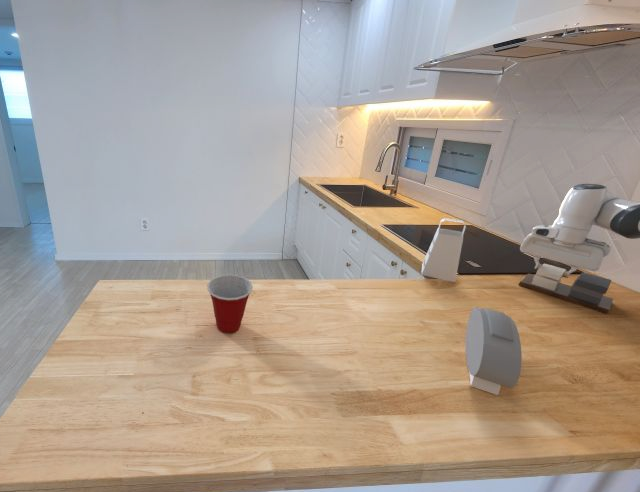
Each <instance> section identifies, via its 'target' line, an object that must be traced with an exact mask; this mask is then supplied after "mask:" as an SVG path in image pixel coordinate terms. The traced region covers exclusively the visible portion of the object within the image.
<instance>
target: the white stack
mask: <svg viewBox="0 0 640 492" xmlns="http://www.w3.org/2000/svg"><path fill="white" fill-rule="evenodd" d="M534 275H535V276H534V278H533V282H532V284H534V285H537V286H540V287H543V288H546V289H549V290H553V291H555V289H556V288H557V287H558V285H559V284H560V283H562V278H561V279H560V280H555V279H552V278H549V277H545V276H542V275H538V274H536V273H535V274H534Z"/></svg>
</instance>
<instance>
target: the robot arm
mask: <svg viewBox="0 0 640 492" xmlns="http://www.w3.org/2000/svg"><path fill="white" fill-rule="evenodd" d="M592 226H596V227H599V228H602V229H604V230H607V231H610V232H613V233H615V234H616V235H618V236H621V237H623V238H626V239H629V240H631V239H633V240H635V239H640V201H633V200H629V199H625V198H622V197H619V196H617V195H615V194H613V193H612V192H611V191H610V190H608V188H607V186H606V185H603V184H599V183H598V184H597V183H581V184H576V185H574V186H572V187H571V188H570V189H569V190H568V192H567V193H566V195H565V196H564V199H563V200H562V202H561V204H560V207H559V212H558V216H557V217H556V218H555V220H554V221H553V224H541V225H536V226H534V227H533V228H532V230H531V233H529V234H528V235H527V236H526V237H524V239H523V241H522V243H521V245H520V246H519V251H520V252H521V253H523V254H527V255H530V256H534V257H533V260H534V263H535V265H534V269H535V270H538V269H539V268H540V267H541V266H542V265H543V264H542V263H540V259H541V258H543V259H546V260H550V261H554V262H558V263H561V264H564V265H569V266H571V267H570V270H566V271H564V273H563V275H562V278H566V279H569V277H570V274H572V273H575V272H576V271H577V270H578V269H579V268H580V269H584V270H587V271H590V272H591V271H592V272H596V271H599V270H600V268H601V266H602V263H603V260H604V258H605V257H607V256H608V255H609V254H610V252H611V246H610V245H609V244H608V243H607V242H605V241H599V240H595V239H592V238H588V236H589V234H590V233H591V229H592Z"/></svg>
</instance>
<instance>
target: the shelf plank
mask: <svg viewBox="0 0 640 492" xmlns="http://www.w3.org/2000/svg"><path fill="white" fill-rule="evenodd" d="M535 275H536V274H532V273H527V274H526V275H525V276H524V277H523V278H522V279H521V280H520V281H519V282H518V286H519V287H523V288H525V289H528V290H531V291H535V292H538V293H541V294H544V295H547V296H550V297H553V298H555V299H560V300H562V301H565V302H569V303H572V304H575V305H578V306H581V307H584V308H587V309H591V310H593V311H597V312H598V313H599V312H600V313H603V314H608V313H609V312H610V309H611V306H612V303H613V300H614V298H612V297H609V296H607V295H603V297H602V299H601V301H600V303H599V305H596V304H593V303H590V302H587V301H584V300H581V299H577V298H574V297H571V296H568V295H569V293H570V291H571V290H570V289H571V287H572V285H570V284H565V283H563V282H560V284H559V285H558V287H557V288H556V289H555V291H553V290H549V289H546V288H543V287H540V286H537V285H534V284H532V282H533V278H534V276H535Z"/></svg>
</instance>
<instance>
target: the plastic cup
mask: <svg viewBox="0 0 640 492" xmlns="http://www.w3.org/2000/svg"><path fill="white" fill-rule="evenodd" d="M206 288H207V292H208V293H209V294H210V295H209V296H210V298H211V302H212V308H213V313H214V318H215V323H216V328H217V330H218V331H219V332H221V333H224V334H234V333H236V332H237V331H239V330H240V327H241V324H242V321H243V318H244V315H245V311H246V306H247V303H248V299H249V296H250V295H251V293H252V291H253V289H254V287H253V284H252V281H251V280H249V279H248V278H247V277H244V276H241V275H236V274H222V275H218V276H215V277H214V278H212V279H210V280H209V281H208V283H207V284H206Z"/></svg>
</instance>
